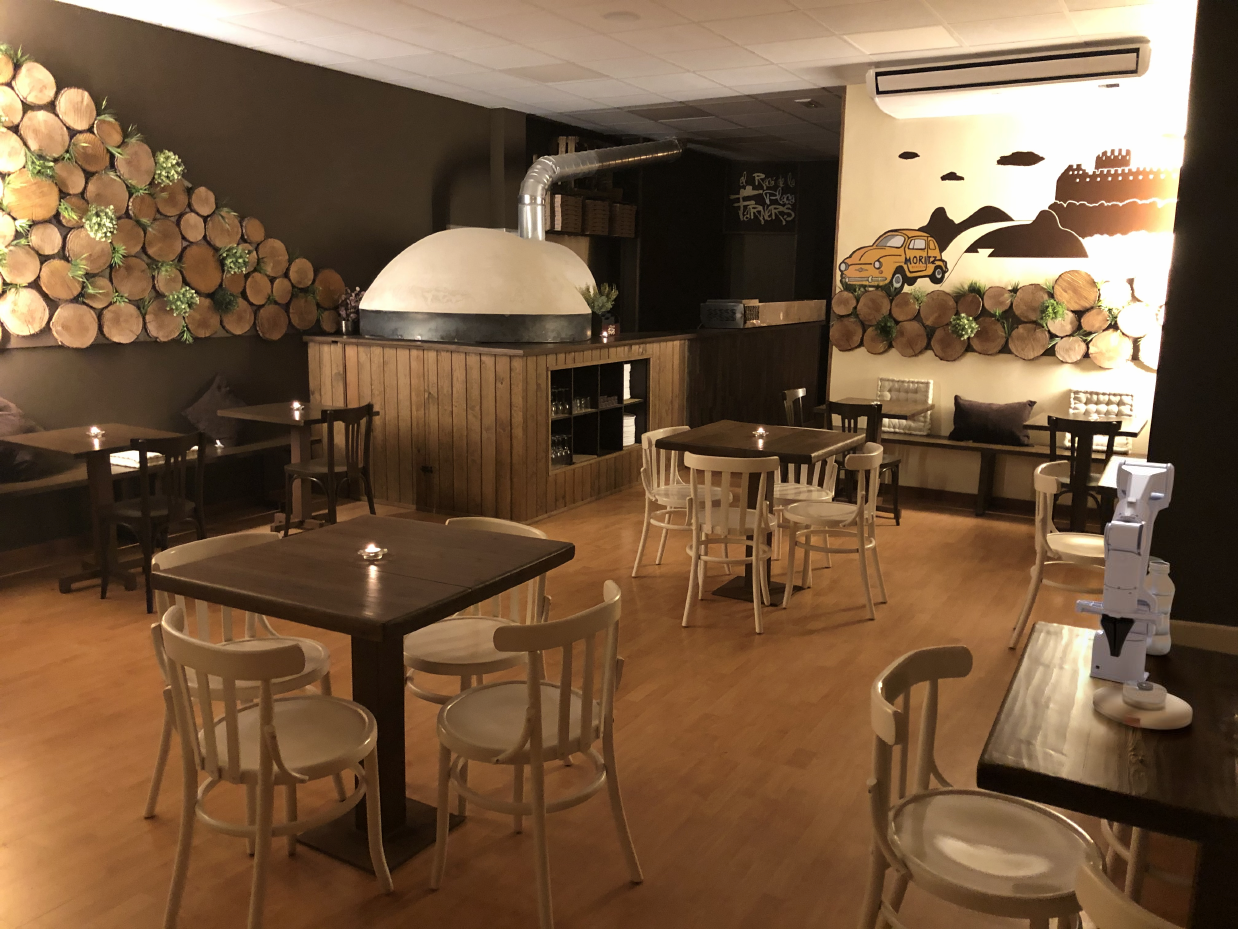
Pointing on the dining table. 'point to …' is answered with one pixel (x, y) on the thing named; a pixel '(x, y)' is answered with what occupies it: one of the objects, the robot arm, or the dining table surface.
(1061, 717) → the dining table surface
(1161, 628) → the plastic bottle
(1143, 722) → the turntable
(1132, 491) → the robot arm
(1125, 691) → the cover
